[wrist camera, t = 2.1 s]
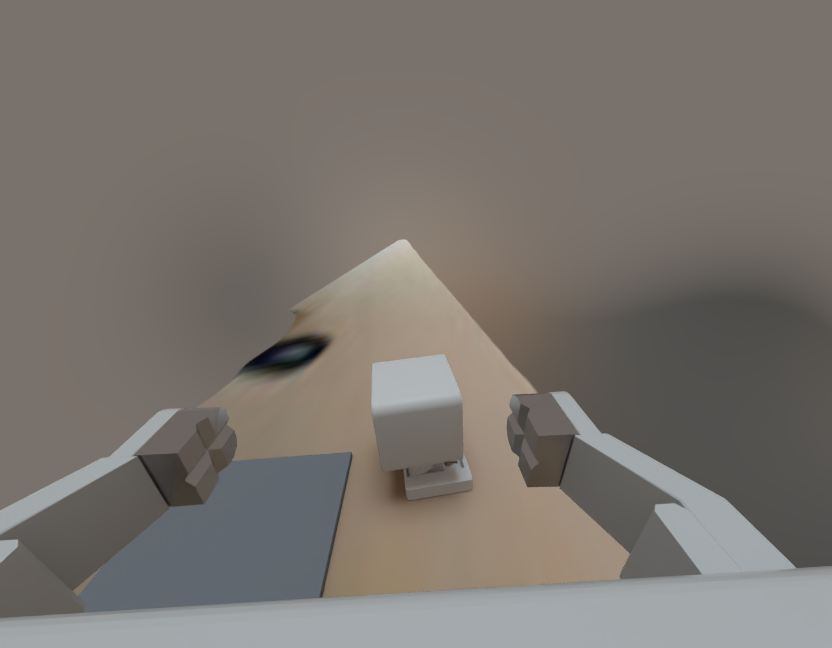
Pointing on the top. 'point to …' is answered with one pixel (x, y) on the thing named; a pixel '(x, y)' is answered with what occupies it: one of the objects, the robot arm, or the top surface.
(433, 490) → the security camera
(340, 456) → the desk pad
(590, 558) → the top surface
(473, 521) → the top surface
